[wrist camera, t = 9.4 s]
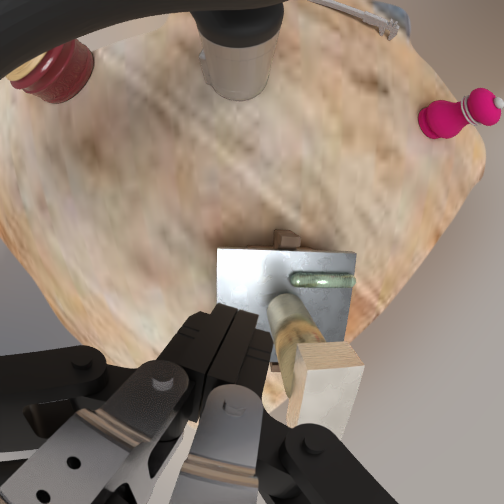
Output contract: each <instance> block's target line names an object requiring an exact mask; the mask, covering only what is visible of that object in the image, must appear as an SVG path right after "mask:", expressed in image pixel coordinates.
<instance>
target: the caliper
mask: <svg viewBox="0 0 504 504" xmlns="http://www.w3.org/2000/svg"><path fill="white" fill-rule="evenodd" d="M308 1H311V2H315V3H318V4H321V5H325V6H328V7H331V8H334V9H337V10H340V11H343V12H346V13H349V14H351V15H354V16H356V17H359V18H362V19H363V22H366V23H368V24H370V25H374V26H375V25H376V26H378V27H379V32H380V36H383V34H384V31H385V29H387V30H389V31H391V32H390V35H389V37H388V40H391V39H393V38H394V37H395V36H396V35H397V32H398V29H399V26H398V25H397V22H394V24H393V20H392V19H391V20H390V22H388V20H386V19H383V18H381V17H379V16H376V15H374V14H372V13H369V12H367V11H365V12H363V11H361V10H358V9H355V8H353V7H350V6H347V5H344V4H342V3H339V2H336V1H332V0H308Z"/></svg>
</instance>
